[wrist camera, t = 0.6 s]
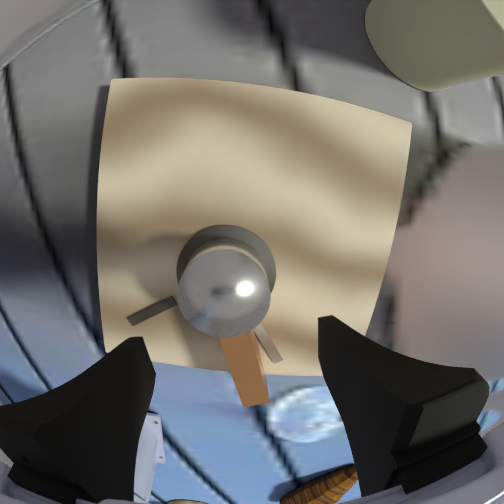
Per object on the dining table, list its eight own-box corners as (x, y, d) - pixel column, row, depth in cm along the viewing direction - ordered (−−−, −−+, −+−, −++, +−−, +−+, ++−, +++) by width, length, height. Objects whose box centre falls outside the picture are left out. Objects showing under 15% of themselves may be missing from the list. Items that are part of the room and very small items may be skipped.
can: (390, 97, 17) (513, 63, 6) (345, -7, 15) (417, -95, 3) (469, 89, 17) (576, 76, 5) (431, -2, 14) (514, -50, 3)
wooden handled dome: (176, 247, 18) (165, 265, 15) (256, 229, 18) (260, 243, 15) (222, 382, 21) (220, 411, 18) (286, 369, 21) (292, 398, 18)
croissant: (343, 455, 29) (353, 485, 24) (368, 465, 31) (378, 491, 26) (264, 494, 31) (267, 521, 27) (294, 502, 33) (298, 527, 28)
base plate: (344, 364, 24) (350, 376, 22) (111, 341, 22) (105, 353, 20) (401, 125, 18) (413, 123, 16) (119, 84, 16) (110, 78, 15)
